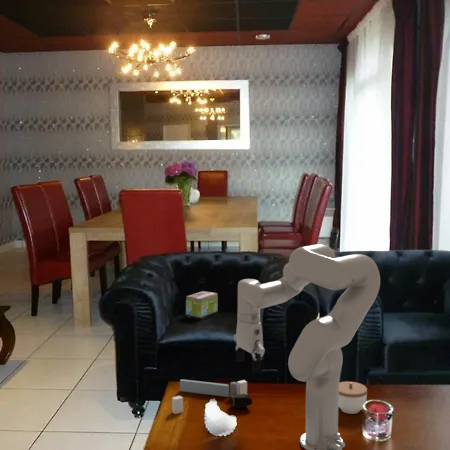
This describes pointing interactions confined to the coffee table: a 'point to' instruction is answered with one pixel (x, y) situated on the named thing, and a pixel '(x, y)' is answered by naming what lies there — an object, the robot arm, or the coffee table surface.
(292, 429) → the coffee table surface
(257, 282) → the robot arm
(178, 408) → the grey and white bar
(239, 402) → the tape measure
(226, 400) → the coffee table surface
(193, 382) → the long grey bar
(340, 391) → the lidded jar
